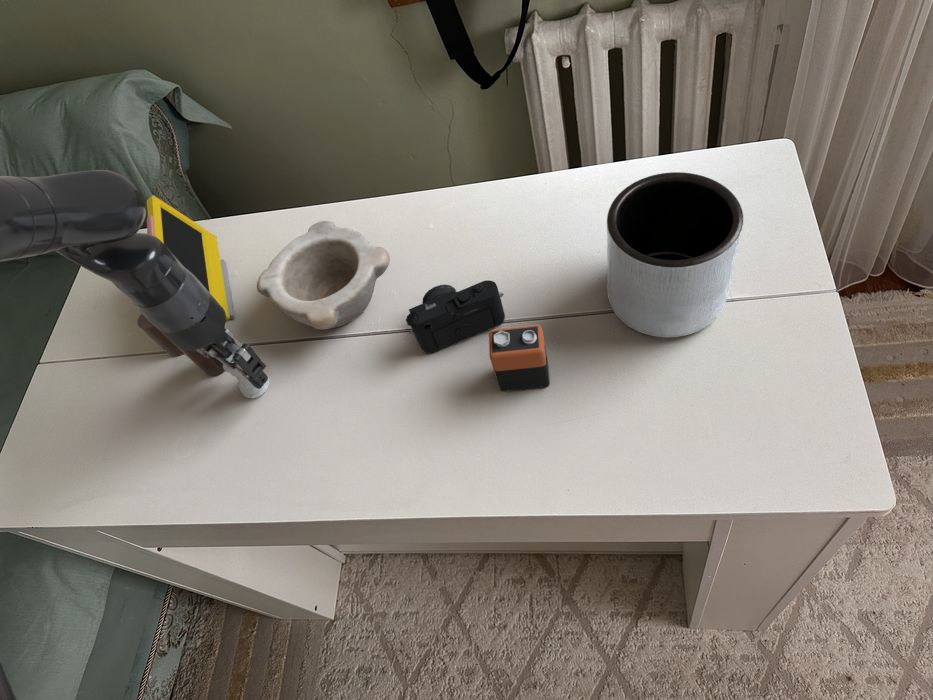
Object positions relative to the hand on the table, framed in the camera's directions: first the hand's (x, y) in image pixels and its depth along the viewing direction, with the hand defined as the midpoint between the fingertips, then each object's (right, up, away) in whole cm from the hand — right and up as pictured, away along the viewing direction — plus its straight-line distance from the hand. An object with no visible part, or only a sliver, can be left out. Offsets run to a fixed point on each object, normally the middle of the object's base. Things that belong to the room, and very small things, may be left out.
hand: (245, 374), depth 91 cm
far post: (-14, +4, +11) cm, 18 cm away
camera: (+31, +7, +2) cm, 32 cm away
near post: (-7, +1, +7) cm, 10 cm away
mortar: (+12, +11, +9) cm, 19 cm away
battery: (+40, 0, -5) cm, 40 cm away
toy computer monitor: (-11, +12, +15) cm, 23 cm away
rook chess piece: (+1, -2, +3) cm, 4 cm away
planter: (+60, +11, -3) cm, 61 cm away
